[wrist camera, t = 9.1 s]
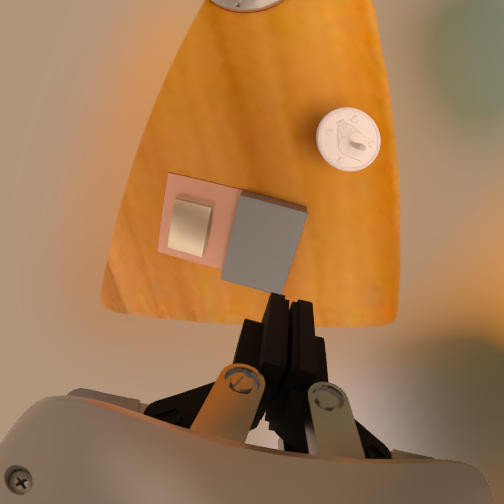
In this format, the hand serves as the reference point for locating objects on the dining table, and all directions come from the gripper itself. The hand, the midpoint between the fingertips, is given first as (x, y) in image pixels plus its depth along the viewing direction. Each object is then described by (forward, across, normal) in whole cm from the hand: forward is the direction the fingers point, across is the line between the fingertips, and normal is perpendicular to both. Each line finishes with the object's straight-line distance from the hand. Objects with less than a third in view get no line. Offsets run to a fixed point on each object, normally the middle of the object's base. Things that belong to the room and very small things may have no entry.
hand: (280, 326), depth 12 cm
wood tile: (+27, +11, +8) cm, 31 cm away
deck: (+29, +1, +8) cm, 30 cm away
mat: (+29, +11, +8) cm, 32 cm away
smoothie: (+29, -4, -8) cm, 31 cm away
